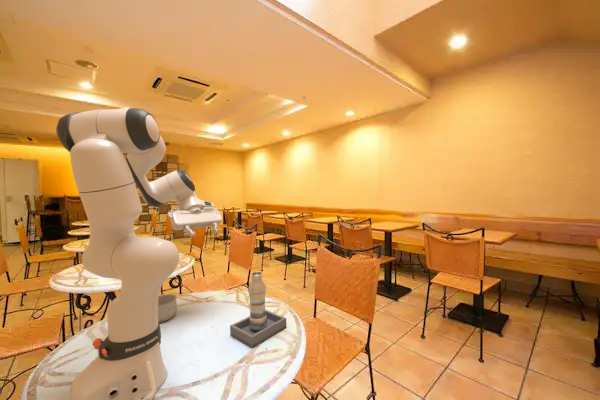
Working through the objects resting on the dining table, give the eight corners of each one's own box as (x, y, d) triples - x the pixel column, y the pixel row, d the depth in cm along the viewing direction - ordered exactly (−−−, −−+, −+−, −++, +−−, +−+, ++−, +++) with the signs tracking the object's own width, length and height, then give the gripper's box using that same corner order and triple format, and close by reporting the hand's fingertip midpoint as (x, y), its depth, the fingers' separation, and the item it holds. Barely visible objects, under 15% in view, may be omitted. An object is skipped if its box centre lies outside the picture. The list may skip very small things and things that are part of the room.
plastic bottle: (269, 323, 95) (267, 270, 94) (265, 333, 88) (263, 276, 88) (252, 323, 95) (250, 270, 95) (246, 333, 89) (245, 276, 88)
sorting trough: (252, 348, 82) (251, 337, 82) (230, 335, 89) (230, 325, 89) (286, 327, 94) (286, 318, 94) (264, 317, 102) (264, 309, 101)
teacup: (174, 323, 99) (173, 302, 99) (142, 327, 96) (141, 306, 96) (180, 307, 113) (180, 289, 112) (153, 311, 110) (152, 293, 110)
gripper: (168, 204, 97) (180, 232, 91) (216, 202, 113) (229, 226, 107) (163, 216, 100) (175, 243, 94) (211, 212, 116) (224, 235, 110)
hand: (204, 234), depth 101 cm, fingers open, 8 cm apart
